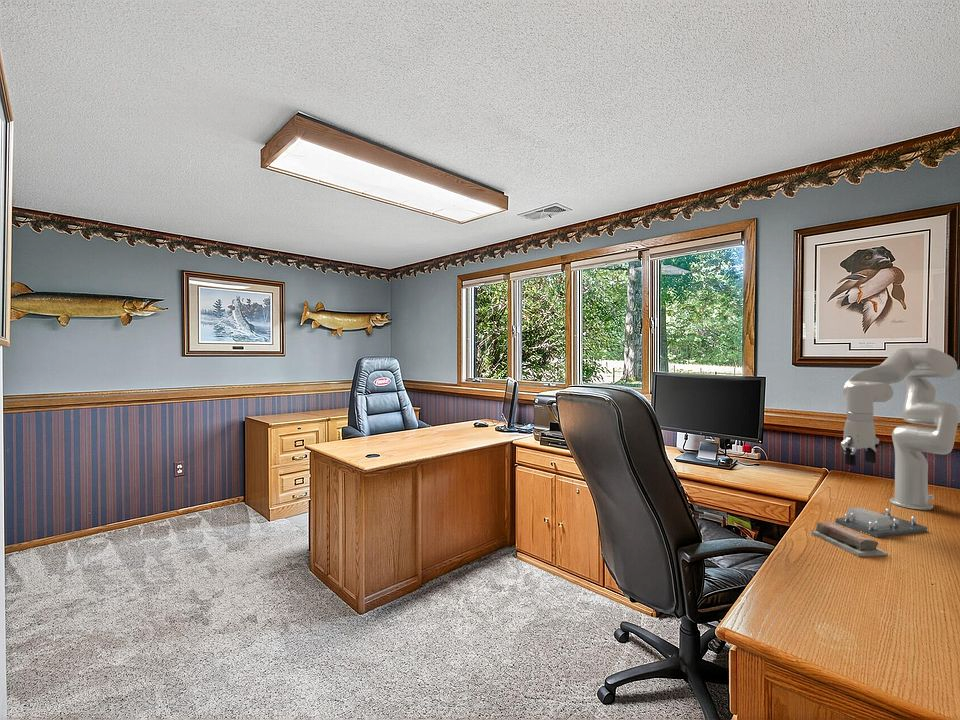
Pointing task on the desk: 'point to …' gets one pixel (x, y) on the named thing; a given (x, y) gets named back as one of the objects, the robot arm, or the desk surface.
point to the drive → (868, 518)
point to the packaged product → (847, 539)
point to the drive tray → (896, 528)
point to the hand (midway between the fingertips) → (860, 463)
